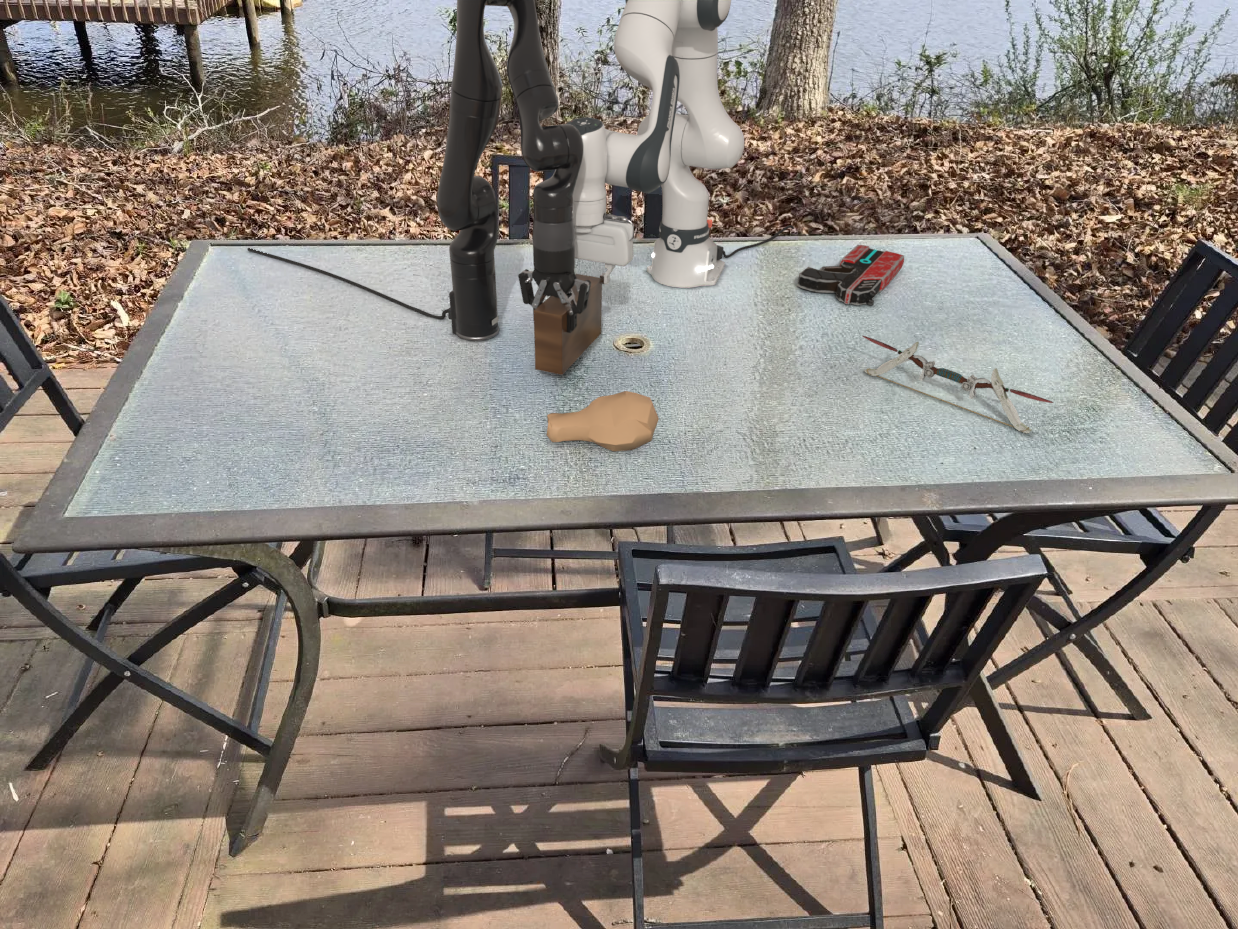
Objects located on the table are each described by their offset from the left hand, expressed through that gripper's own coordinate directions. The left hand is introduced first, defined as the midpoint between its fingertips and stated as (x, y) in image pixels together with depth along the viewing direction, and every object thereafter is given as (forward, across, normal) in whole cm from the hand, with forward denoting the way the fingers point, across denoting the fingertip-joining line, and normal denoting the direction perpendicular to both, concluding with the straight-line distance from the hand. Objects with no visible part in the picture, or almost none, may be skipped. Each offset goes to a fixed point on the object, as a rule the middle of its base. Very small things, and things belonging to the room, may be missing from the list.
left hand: (555, 327), depth 167 cm
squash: (+12, -16, +16) cm, 26 cm away
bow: (+12, -72, -24) cm, 77 cm away
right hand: (-5, 0, -13) cm, 14 cm away
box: (+8, 0, -7) cm, 10 cm away
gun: (+12, -46, -80) cm, 93 cm away
